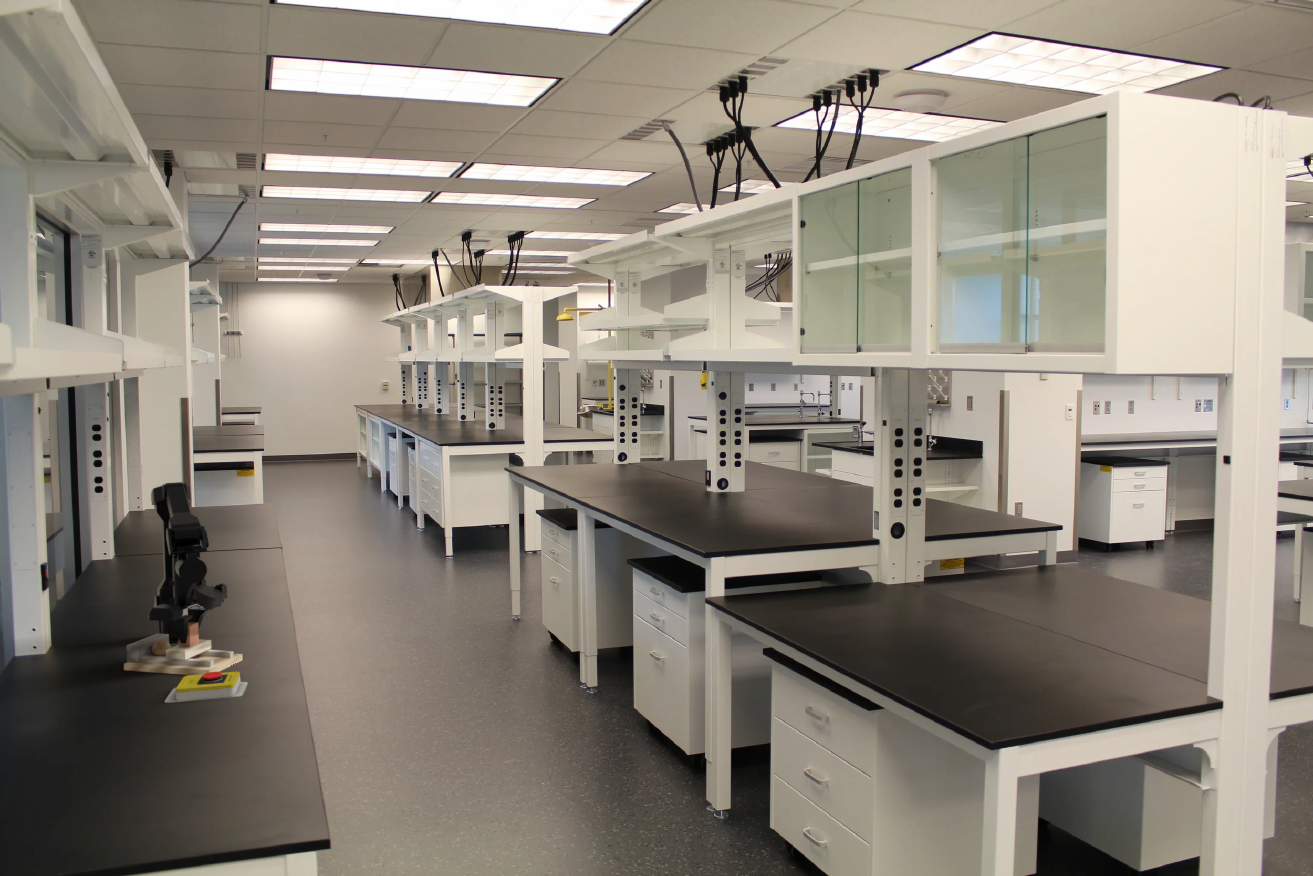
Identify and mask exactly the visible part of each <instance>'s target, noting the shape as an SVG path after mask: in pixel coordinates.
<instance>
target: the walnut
mask: <svg viewBox="0 0 1313 876" xmlns="http://www.w3.org/2000/svg"><path fill="white" fill-rule="evenodd" d="M170 643H171V642H167V641H165V640H160V641H157V642H156V643H155V644H154V645H153V646H152V653H153V655H154V656H160V657H165V656H166V650H167V649H169V648H171V647H172V645H171V644H170Z"/></svg>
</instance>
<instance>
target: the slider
mask: <svg viewBox="0 0 1313 876" xmlns="http://www.w3.org/2000/svg"><path fill="white" fill-rule="evenodd" d="M199 631H200V629H199V630H198V623H196V622H188V626H187V641H186V643H185V644H184V643H181V642H180V640H179V639H178V640H179V642H178V644H177V645H174V646H171V647H172V648H169V649H167V650H166V659H180V660H186V659H188V658H191V657H193V656H195V655H197V654H200V653H202V652H204V651H206V650H212V640H211V639H200V638H199V636H200V635H199Z"/></svg>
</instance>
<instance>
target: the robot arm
mask: <svg viewBox="0 0 1313 876" xmlns="http://www.w3.org/2000/svg"><path fill="white" fill-rule="evenodd" d="M186 483H187V482H182V481H179V482H177V481H176V482H165V483H163V484H162V485H160V486H156V487H154V488H152V489H151V492H150V500H151V502H150V503H151V506H153V507H154V512H155V514H156V515H157V516H158V517H159V519H160V520H161V528H162V530H161V533H162V535H161V536H162V557H163V558H162V560H163V561H162V562H163V579H162V580H161V581H160V583H159V585H158V586H157V589H156V590H157V595H154V603H153V606H152V607H151V608H150V609H149V610H148V621H157V622H158V633H159V634H169V643H175V642H176V643H179V640H180V642H181V643H184V644H185V643H186V641H187V626H188V622H196V623H198V630H199V631H200V627H201V624H202V622H203V619H204V616H205V615H206V614H207V613H208V612H210V611H212V610H214V609H215V608H220V607H222V604H223V603H225V602H224V601H225V600H226V599H227V598H228V587H227V584H225V583H223V582H221V583H217V584H215V586H214V585H211V586H209V585H207V583H206V582H207V580H206V579H205V577H206V575H207V572H208V568H207V564H206V563H205V562H204V561H203V559H202V558H201V553H207V552H208V548H209V546H210V543H209V537H208V533H207V530H206V528H205V526H204V525H202V524H201V521H200V519H199V517H198V516H197V515H194V514H192V511H191V508H190V505H189V503H191V501H192V497H191V486H190V485H187V484H186ZM178 639H179V640H178Z"/></svg>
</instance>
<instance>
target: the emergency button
mask: <svg viewBox="0 0 1313 876" xmlns="http://www.w3.org/2000/svg"><path fill="white" fill-rule="evenodd" d="M248 684H249V683H248V682H247V681H241V673H240V671H230V672H229V671H227V672H222V671H219V672H209V673H205V674H200V675H185V676H183V677H182V678H181V681H180V682H179V683H178V685H177V686H176V687H174V688H173V689H171V691H170V693H169V694H168V695H167V697H166V699H165V700H164V703H166V704H169V703H170V704H171V703H180V702H193V701H194V702H195V701H204V700H205V701H206V700H216V699H227V698H238V697H242V696H243V695H244V694H245V691H246V689H247V686H248Z"/></svg>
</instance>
